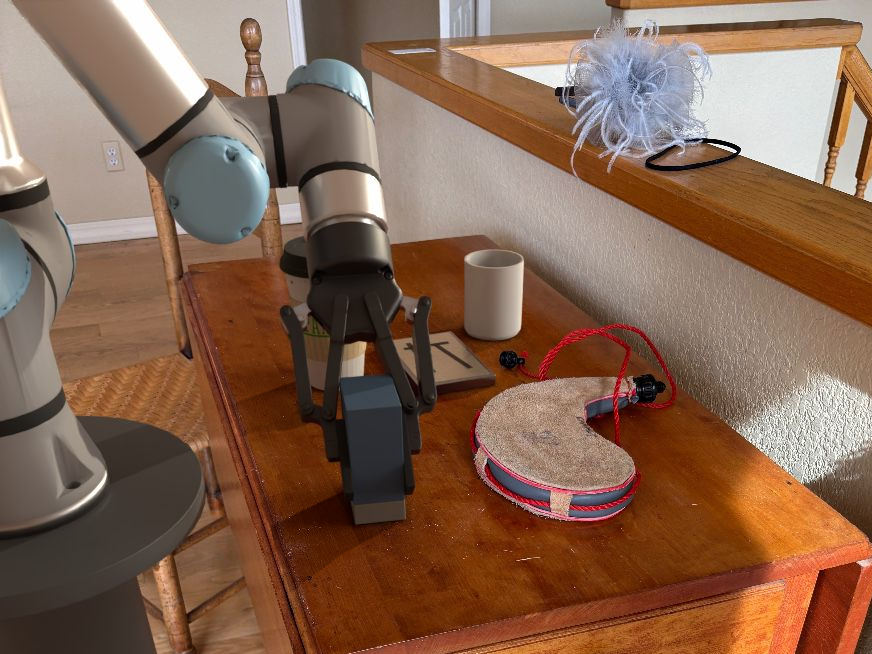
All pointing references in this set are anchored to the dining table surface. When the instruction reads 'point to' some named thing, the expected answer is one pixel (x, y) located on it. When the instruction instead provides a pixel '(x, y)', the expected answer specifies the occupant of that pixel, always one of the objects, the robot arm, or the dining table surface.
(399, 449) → the eraser
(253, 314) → the dining table surface
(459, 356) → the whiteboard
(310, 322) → the coffee cup
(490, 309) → the cup
